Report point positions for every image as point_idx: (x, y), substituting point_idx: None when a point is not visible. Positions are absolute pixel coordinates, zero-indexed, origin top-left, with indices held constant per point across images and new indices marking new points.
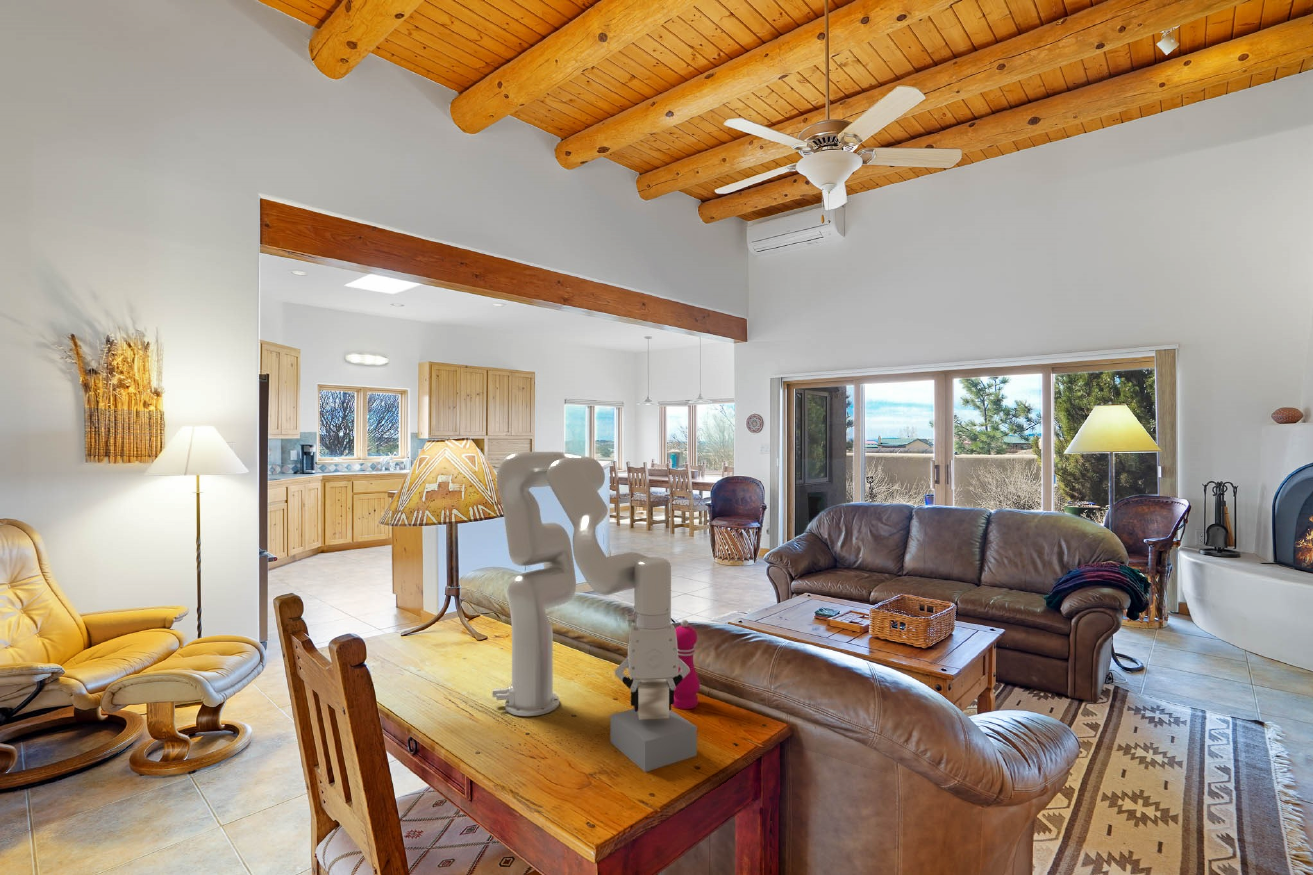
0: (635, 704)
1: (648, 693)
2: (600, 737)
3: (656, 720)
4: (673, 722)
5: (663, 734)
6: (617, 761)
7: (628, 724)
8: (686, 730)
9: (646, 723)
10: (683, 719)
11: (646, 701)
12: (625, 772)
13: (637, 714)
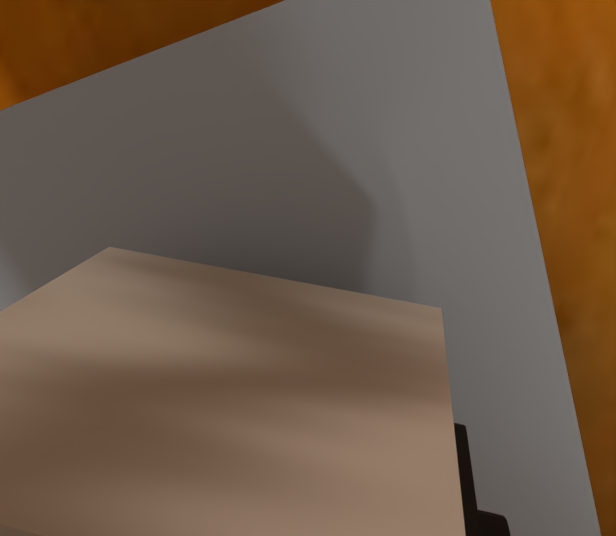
0: (468, 481)
1: (255, 489)
2: (597, 507)
3: None
4: None
5: (232, 60)
6: (600, 183)
7: (516, 371)
8: (6, 108)
9: None
10: None
11: (324, 405)
12: (600, 5)
13: None
